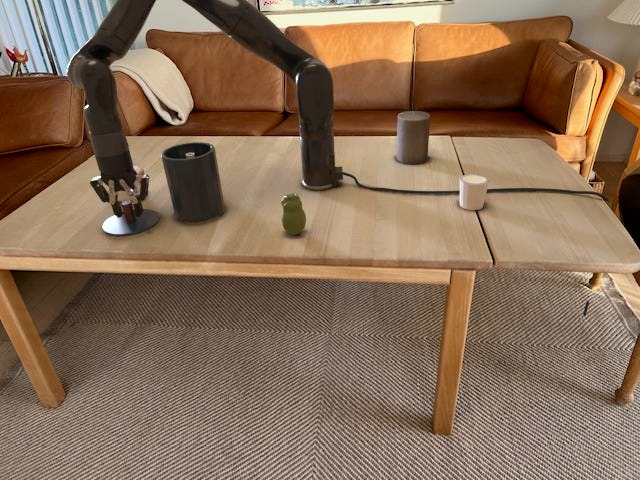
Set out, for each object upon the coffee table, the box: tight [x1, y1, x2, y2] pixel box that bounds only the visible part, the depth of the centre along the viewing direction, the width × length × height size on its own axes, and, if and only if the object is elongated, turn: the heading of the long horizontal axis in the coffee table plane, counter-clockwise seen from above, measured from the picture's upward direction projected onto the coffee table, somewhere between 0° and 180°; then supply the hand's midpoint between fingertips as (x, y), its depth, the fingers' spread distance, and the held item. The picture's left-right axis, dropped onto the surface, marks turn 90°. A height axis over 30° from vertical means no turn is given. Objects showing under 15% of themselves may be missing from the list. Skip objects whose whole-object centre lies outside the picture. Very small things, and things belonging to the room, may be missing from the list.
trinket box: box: [104, 165, 146, 203], centre depth 131 cm, size 11×11×9 cm
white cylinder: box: [459, 173, 490, 211], centre depth 118 cm, size 7×7×7 cm
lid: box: [101, 201, 161, 237], centre depth 118 cm, size 14×14×6 cm
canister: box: [160, 141, 226, 224], centre depth 119 cm, size 13×13×17 cm
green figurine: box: [280, 192, 307, 235], centre depth 109 cm, size 6×5×10 cm
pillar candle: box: [396, 110, 431, 165], centre depth 145 cm, size 10×10×15 cm
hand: (129, 215), depth 118 cm, fingers open, 4 cm apart
